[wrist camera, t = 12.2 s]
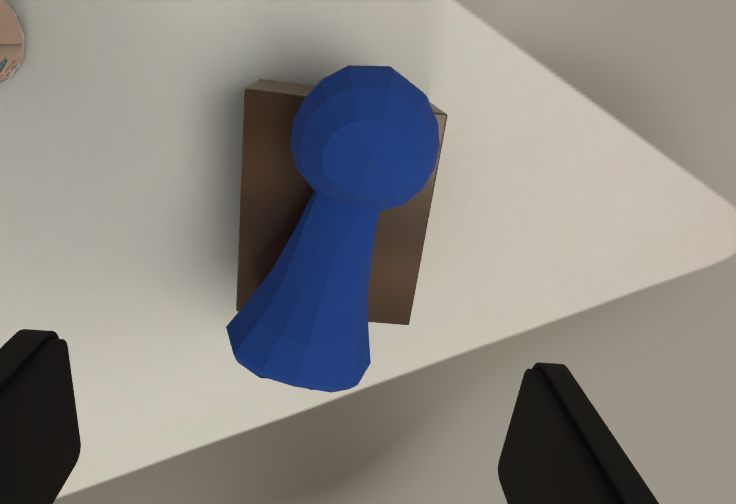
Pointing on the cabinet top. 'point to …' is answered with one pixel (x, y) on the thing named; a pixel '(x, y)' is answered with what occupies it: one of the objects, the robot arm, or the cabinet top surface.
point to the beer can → (10, 41)
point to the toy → (337, 227)
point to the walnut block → (291, 195)
